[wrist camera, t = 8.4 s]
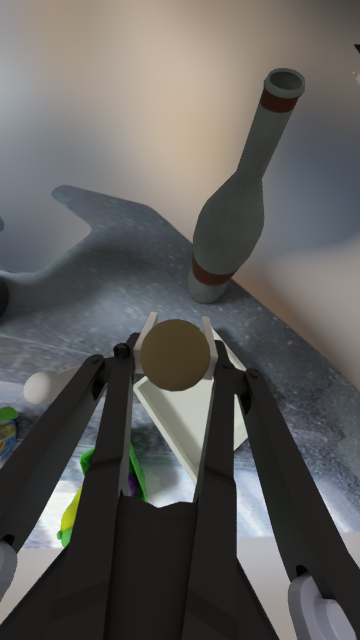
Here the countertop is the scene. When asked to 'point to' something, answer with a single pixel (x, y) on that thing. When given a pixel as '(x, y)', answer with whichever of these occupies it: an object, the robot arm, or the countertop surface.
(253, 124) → the bottle
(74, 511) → the fruit basket
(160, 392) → the bin
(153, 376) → the cork
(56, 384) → the salt shaker
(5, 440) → the snack cup
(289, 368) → the countertop surface
